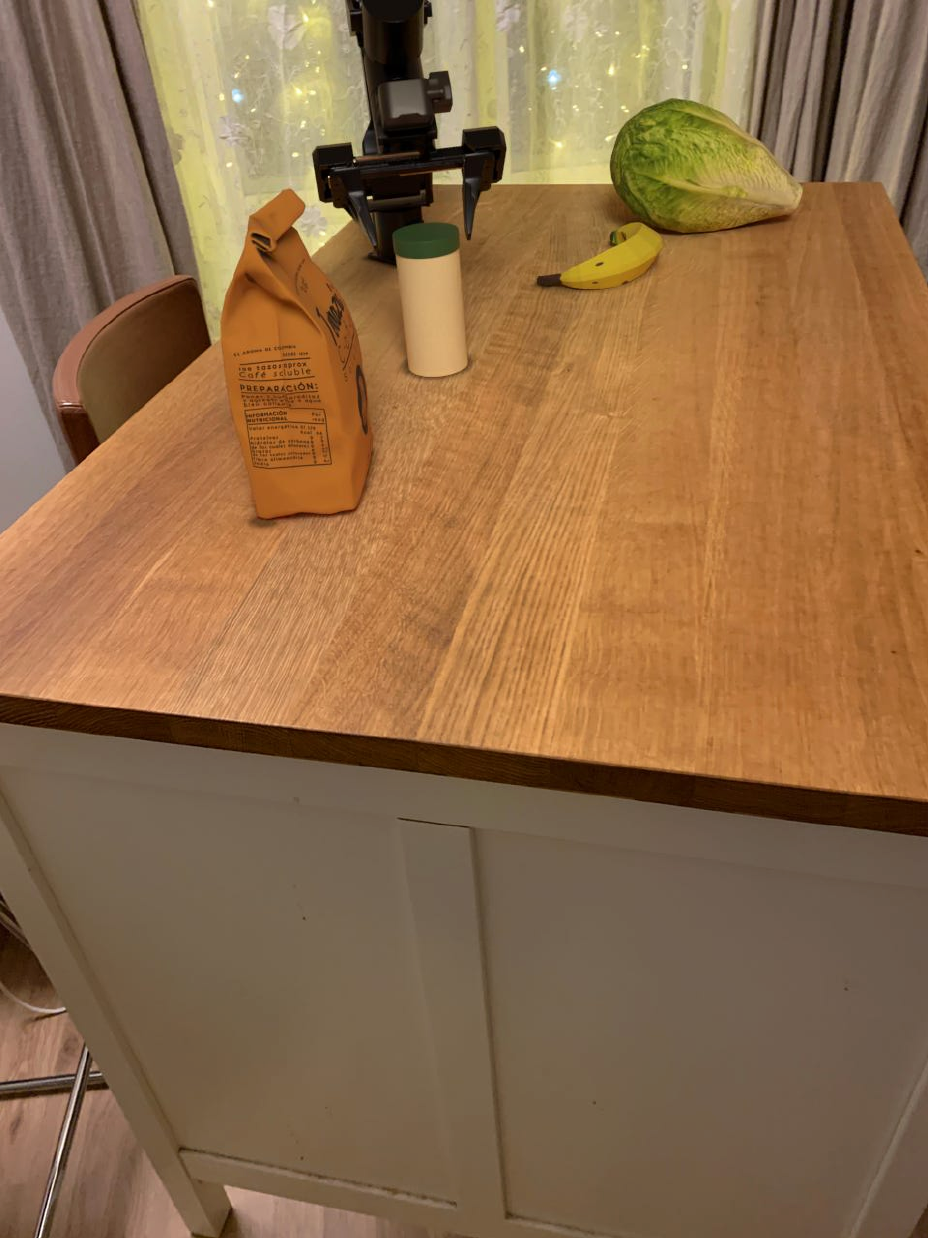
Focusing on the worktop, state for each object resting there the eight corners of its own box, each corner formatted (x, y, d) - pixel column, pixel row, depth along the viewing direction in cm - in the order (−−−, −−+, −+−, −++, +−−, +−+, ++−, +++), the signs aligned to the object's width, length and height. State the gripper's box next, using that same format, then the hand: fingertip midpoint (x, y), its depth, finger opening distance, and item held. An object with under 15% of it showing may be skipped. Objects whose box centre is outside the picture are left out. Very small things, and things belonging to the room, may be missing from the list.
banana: (656, 207, 122) (537, 232, 125) (665, 240, 108) (531, 268, 111) (660, 244, 124) (544, 268, 127) (670, 282, 110) (538, 307, 113)
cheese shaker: (394, 367, 99) (378, 235, 91) (439, 348, 102) (427, 218, 94) (437, 382, 95) (424, 246, 87) (481, 361, 98) (472, 228, 90)
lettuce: (774, 235, 135) (776, 284, 124) (602, 182, 135) (588, 226, 124) (824, 123, 125) (832, 166, 113) (638, 66, 125) (627, 103, 113)
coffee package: (393, 449, 84) (358, 179, 71) (363, 527, 75) (315, 229, 61) (283, 450, 86) (228, 185, 73) (239, 525, 76) (165, 235, 63)
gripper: (295, 50, 89) (319, 208, 86) (497, 29, 90) (526, 184, 88) (308, 129, 100) (329, 271, 97) (488, 109, 101) (513, 248, 99)
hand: (422, 243), depth 95 cm, fingers open, 9 cm apart
